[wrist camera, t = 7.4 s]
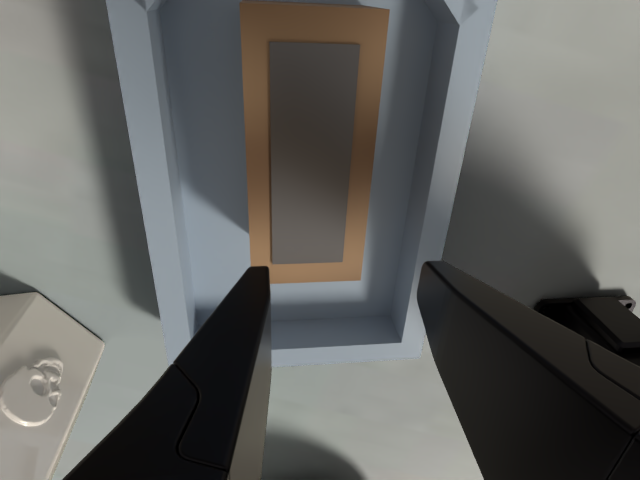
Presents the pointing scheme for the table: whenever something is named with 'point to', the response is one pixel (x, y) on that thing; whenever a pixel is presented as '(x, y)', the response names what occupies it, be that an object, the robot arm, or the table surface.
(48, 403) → the jar
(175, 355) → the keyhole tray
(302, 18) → the bar
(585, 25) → the table surface
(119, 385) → the table surface
